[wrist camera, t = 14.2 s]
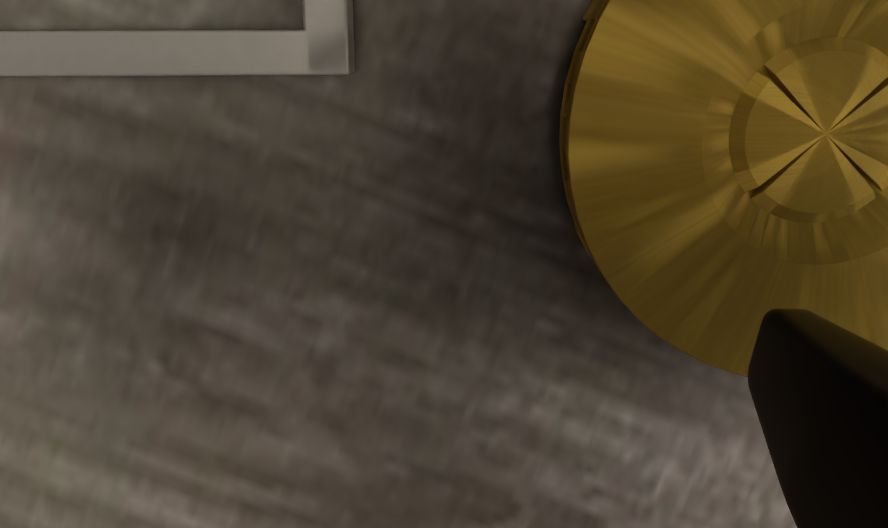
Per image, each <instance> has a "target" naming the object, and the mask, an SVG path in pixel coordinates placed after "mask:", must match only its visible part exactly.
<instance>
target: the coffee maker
mask: <svg viewBox="0 0 888 528" xmlns="http://www.w3.org/2000/svg"><path fill="white" fill-rule="evenodd" d="M302 8H303V29H249V30H0V77H59V76H300V75H349V74H351V73H352V72H354V71H355V57H354V29H353V0H302Z"/></svg>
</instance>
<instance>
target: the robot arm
mask: <svg viewBox="0 0 888 528" xmlns="http://www.w3.org/2000/svg"><path fill="white" fill-rule="evenodd" d="M748 384H749V389H750V393H751V396H752V399H753V402H754V405H755V408H756V411H757V414H758V418H759V421H760V424H761V427H762V430H763V433H764V436H765V439H766V442H767V445H768V449H769V452H770V455H771V458H772V461H773V464H774V467H775V470H776V473H777V476H778V480H779V483H780V486H781V488H782V491H783V494H784V497H785V499H786V502H787V505H788V507H789V509H790V512H791V514H792V516H793V519H794V521H795V523H796V525H797V528H888V350H886V349H884V348H882V347H880V346H878V345H876V344H874V343H872V342H870V341H868V340H866V339H864V338H862V337H860V336H858V335H856V334H854V333H852V332H850V331H848V330H846V329H844V328H842V327H840V326H838V325H836V324H834V323H832V322H830V321H828V320H826V319H824V318H822V317H820V316H818V315H816V314H814V313H812V312H810V311H808V310H806V309H771V310H770V311H768V312H767V313H766V314H765V315H764V317H763V319H762V322H761V325H760V329H759V332H758V336H757V339H756V343H755V346H754V350H753V354H752V357H751V361H750V364H749V369H748Z"/></svg>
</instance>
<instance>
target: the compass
mask: <svg viewBox="0 0 888 528" xmlns="http://www.w3.org/2000/svg"><path fill="white" fill-rule="evenodd" d="M582 20H584V21H586V25H585V27H584V29H583V32H582V34H581V36H580V39H579V41H578V44H577V46H576V48H575V51H574V54H573V58H572V61H571V65H570V68H569V72H568V75H567V79H566V82H565V88H564V94H563V101H562V107H561V113H560V138H559V149H560V160H561V171H562V179H563V183H564V188H565V192H566V197H567V201H568V206H569V209H570V211H571V214H572V217H573V220H574V222H575V226H574V228H575V230H576V232H577V234H578V236H579V238H580V240H581V242H582V244H583V245H584V247H585V249H586V251H587V253H588V254H589V255H590V257H591V258H592V260H593V261H594V263H595V264H596V266H597V267H598V269H599V270H600V271H601V273H602V274H603V276H604V277H605V279H606V280H607V281H608V283H609V284H610V286H611V287H612V288H613V290H614V291H615V293H616V294H617V296H618V297H619V298H620V300H621V301H622V302H623V303H624V304H625V305H626V306H627V307H628V308H629V309H630V310H631V312H632V313H633V314H634V315H635V316H636V317H637V318H638V319H639V320H640V321H641V322H642V323H643V324H644V325H646V326H647V327H648V328H649V329H651V330H652V331H653V332H654V333H656V334H657V335H658V336H659V337H660V338H662V339H663V340H664V341H666V342H667V343H669V344H671V345H672V346H674V347H676V348H677V349H679V350H680V351H682V352H684V353H685V354H687V355H689V356H691V357H693V358H695V359H698V360H700V361H702V362H704V363H706V364H709V365H711V366H713V367H715V368H719V369H722V370H725V371H729V372H732V373H735V374H738V375H742V376H746V377H748V369H749V364H750V361H751V357H752V354H753V350H754V346H755V343H756V339H757V336H758V332H759V329H760V325H761V322H762V319H763V317H764V315H765V314H766V313H767V312H768V311H770V310H771V309H806V310H808V311H810V312H812V313H814V314H816V315H818V316H820V317H822V318H824V319H826V320H828V321H830V322H832V323H834V324H836V325H838V326H840V327H842V328H844V329H846V330H848V331H850V332H852V333H854V334H856V335H858V336H860V337H862V338H864V339H866V340H868V341H870V342H872V343H874V344H876V345H878V346H880V347H882V348H884V349H886V350H888V0H593V1H592V2H591V4H590V6H589V8H588V9H587V11H586V13H585V15H584V17H583V18H582Z"/></svg>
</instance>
